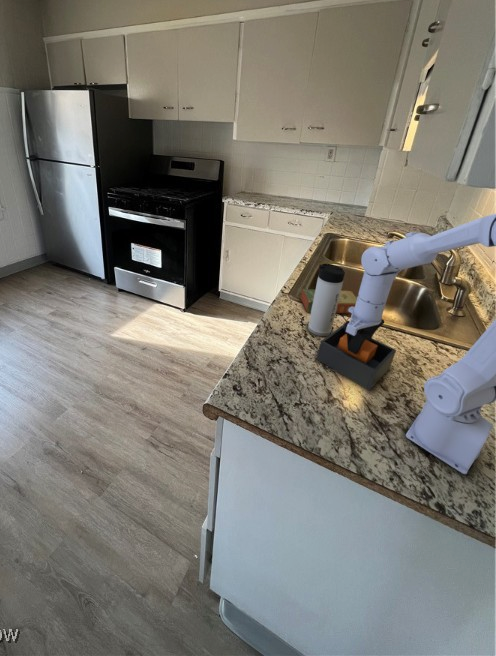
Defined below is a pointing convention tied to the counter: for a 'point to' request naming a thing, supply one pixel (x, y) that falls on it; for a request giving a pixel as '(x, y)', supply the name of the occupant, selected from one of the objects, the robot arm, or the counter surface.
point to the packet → (364, 353)
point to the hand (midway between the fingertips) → (357, 347)
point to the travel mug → (326, 299)
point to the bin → (355, 360)
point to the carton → (344, 303)
